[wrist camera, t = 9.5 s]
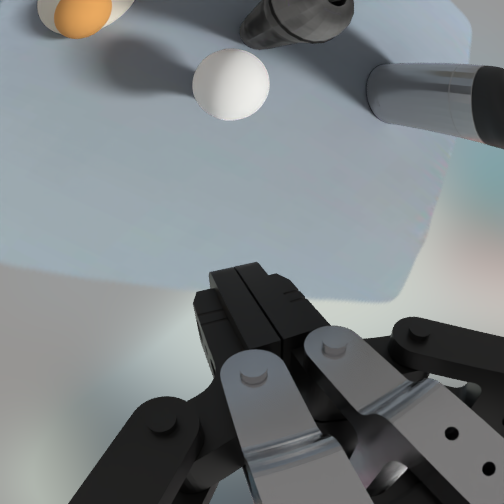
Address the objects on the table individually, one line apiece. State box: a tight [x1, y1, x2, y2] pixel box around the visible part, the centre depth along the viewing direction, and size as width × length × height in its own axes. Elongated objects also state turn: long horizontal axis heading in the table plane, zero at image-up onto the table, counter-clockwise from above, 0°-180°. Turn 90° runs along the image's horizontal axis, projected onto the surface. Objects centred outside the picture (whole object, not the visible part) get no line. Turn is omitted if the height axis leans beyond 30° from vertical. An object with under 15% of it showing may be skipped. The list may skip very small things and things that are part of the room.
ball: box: [54, 0, 112, 39], centre depth 19 cm, size 6×6×6 cm
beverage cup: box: [240, 0, 354, 50], centre depth 21 cm, size 7×7×20 cm
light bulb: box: [192, 48, 270, 120], centre depth 26 cm, size 7×7×11 cm
